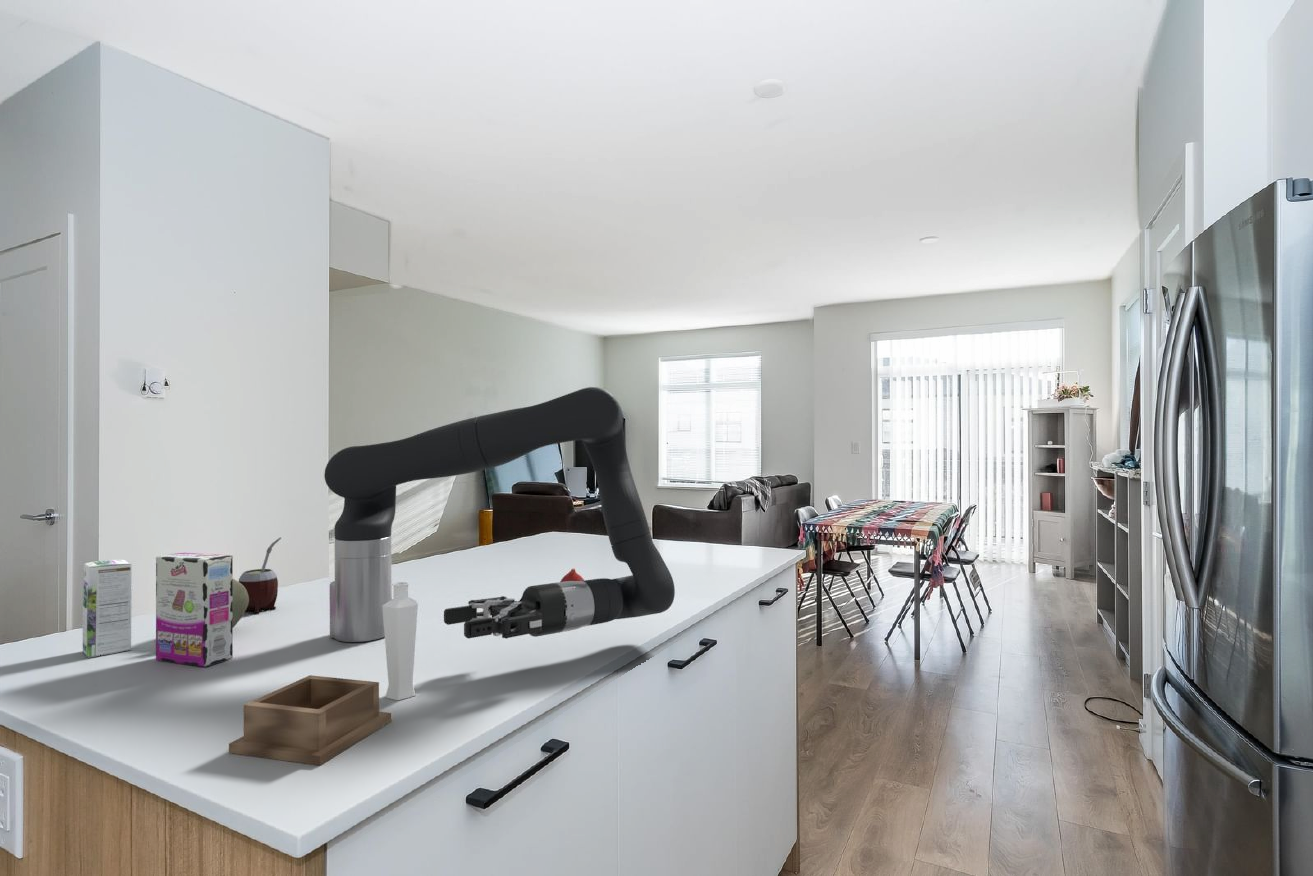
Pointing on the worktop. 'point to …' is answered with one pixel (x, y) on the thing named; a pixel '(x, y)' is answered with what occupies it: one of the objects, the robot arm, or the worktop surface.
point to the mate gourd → (261, 586)
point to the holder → (310, 720)
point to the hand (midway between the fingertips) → (454, 623)
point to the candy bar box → (194, 608)
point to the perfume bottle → (400, 642)
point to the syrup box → (107, 607)
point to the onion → (572, 576)
